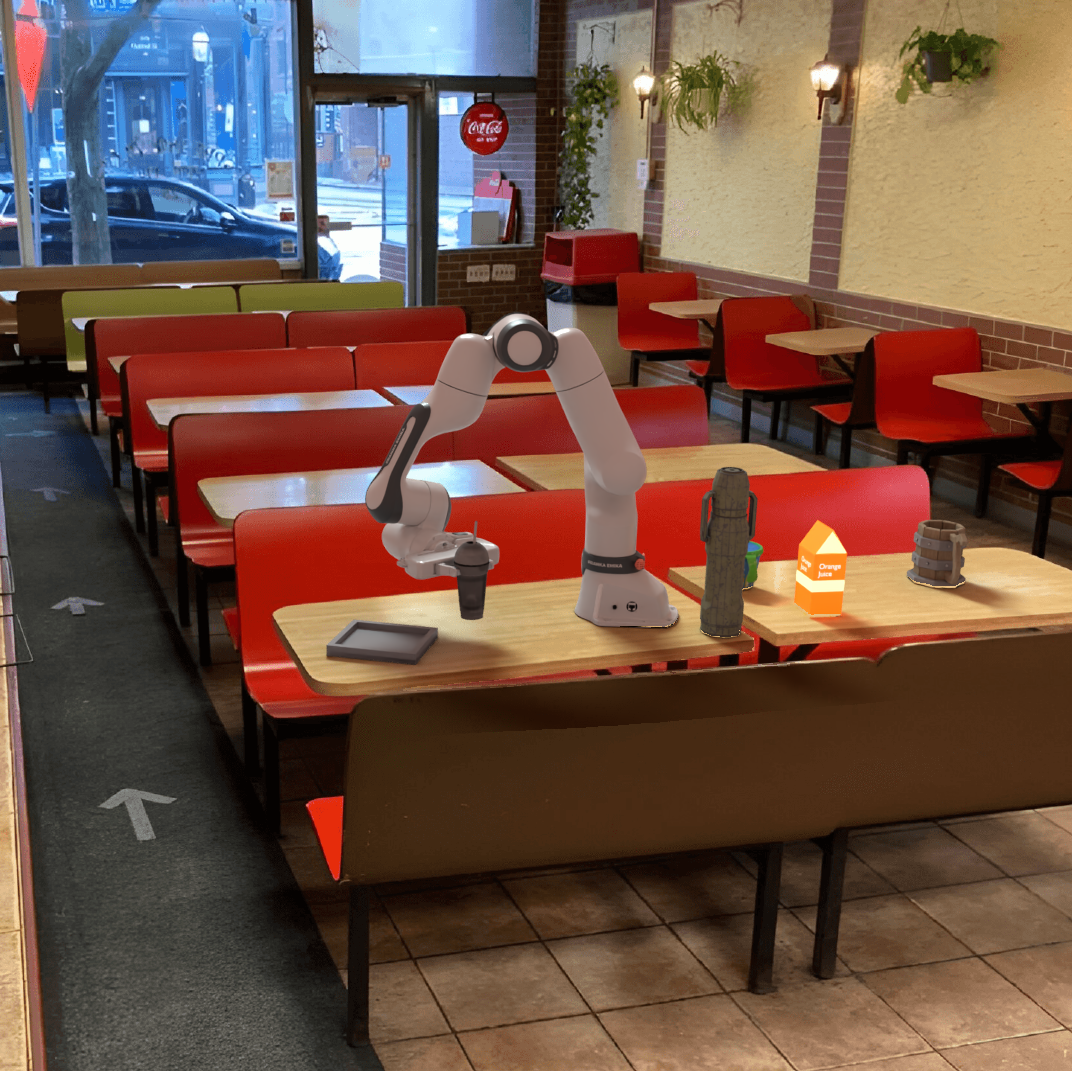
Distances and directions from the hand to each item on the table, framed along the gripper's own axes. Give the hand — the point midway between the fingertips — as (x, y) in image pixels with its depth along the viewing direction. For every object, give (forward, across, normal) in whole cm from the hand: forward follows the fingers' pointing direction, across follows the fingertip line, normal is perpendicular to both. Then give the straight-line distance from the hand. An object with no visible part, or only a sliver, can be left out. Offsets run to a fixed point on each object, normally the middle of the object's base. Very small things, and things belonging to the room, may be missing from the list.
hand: (474, 569), depth 263 cm
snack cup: (+1, +75, +18) cm, 77 cm away
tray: (-9, -16, +16) cm, 24 cm away
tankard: (+27, +118, +19) cm, 122 cm away
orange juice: (+23, +77, +18) cm, 82 cm away
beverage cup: (-1, 0, +10) cm, 10 cm away
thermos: (+21, +49, +17) cm, 56 cm away
